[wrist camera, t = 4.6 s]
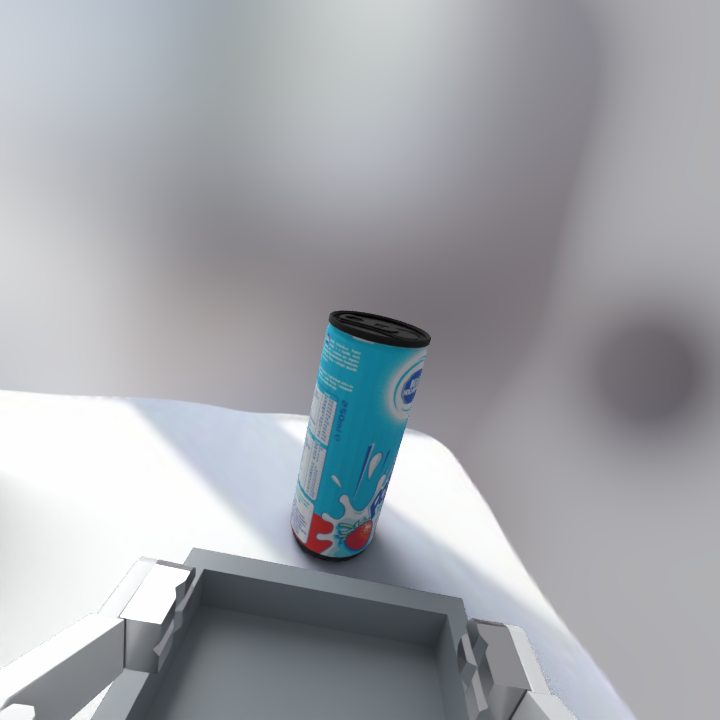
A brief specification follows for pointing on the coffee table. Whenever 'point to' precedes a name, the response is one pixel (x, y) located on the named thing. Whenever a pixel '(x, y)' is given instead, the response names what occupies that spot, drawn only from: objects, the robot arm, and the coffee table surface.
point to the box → (300, 650)
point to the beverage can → (355, 430)
